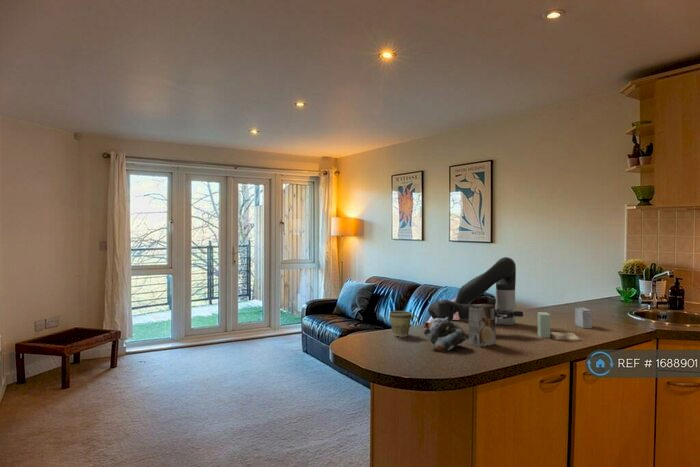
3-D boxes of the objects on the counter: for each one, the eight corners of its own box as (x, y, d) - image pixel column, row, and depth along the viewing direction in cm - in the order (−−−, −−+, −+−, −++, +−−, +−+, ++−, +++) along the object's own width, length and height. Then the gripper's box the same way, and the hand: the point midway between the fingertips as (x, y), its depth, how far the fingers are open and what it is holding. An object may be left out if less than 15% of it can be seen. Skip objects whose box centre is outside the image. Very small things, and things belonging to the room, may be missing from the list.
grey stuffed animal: (442, 354, 164) (426, 320, 167) (429, 358, 174) (414, 326, 178) (473, 339, 169) (456, 306, 173) (459, 344, 180) (443, 313, 184)
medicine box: (592, 328, 207) (592, 310, 207) (582, 328, 207) (582, 310, 207) (583, 325, 215) (583, 307, 215) (574, 324, 215) (574, 307, 215)
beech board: (553, 339, 186) (553, 337, 186) (546, 333, 197) (546, 330, 197) (581, 340, 183) (581, 338, 183) (572, 334, 195) (572, 332, 195)
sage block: (540, 337, 190) (540, 314, 190) (537, 334, 196) (537, 312, 195) (550, 337, 189) (550, 315, 189) (547, 334, 195) (547, 312, 195)
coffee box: (484, 341, 184) (484, 303, 183) (496, 344, 178) (496, 305, 178) (468, 343, 179) (468, 304, 179) (479, 347, 174) (479, 307, 173)
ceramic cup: (386, 336, 191) (386, 314, 191) (392, 331, 200) (392, 310, 200) (415, 339, 186) (415, 316, 186) (420, 334, 196) (420, 312, 196)
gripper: (481, 317, 204) (520, 319, 200) (483, 323, 191) (525, 325, 187) (481, 302, 204) (520, 303, 200) (483, 306, 191) (525, 308, 187)
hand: (522, 314), depth 194 cm, fingers closed
